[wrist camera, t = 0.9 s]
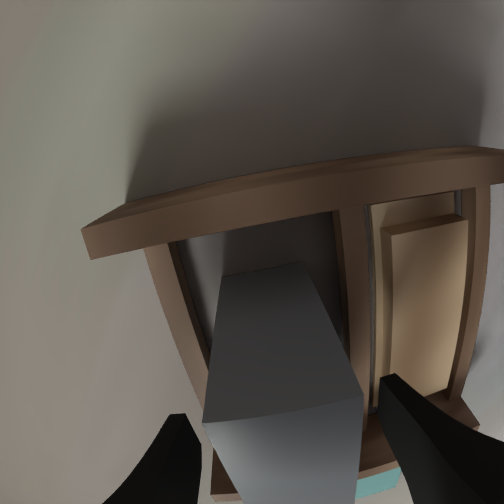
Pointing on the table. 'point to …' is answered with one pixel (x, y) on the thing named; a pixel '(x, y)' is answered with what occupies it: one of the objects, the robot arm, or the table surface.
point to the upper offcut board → (423, 298)
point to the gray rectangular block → (282, 392)
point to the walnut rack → (347, 246)
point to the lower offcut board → (379, 218)
